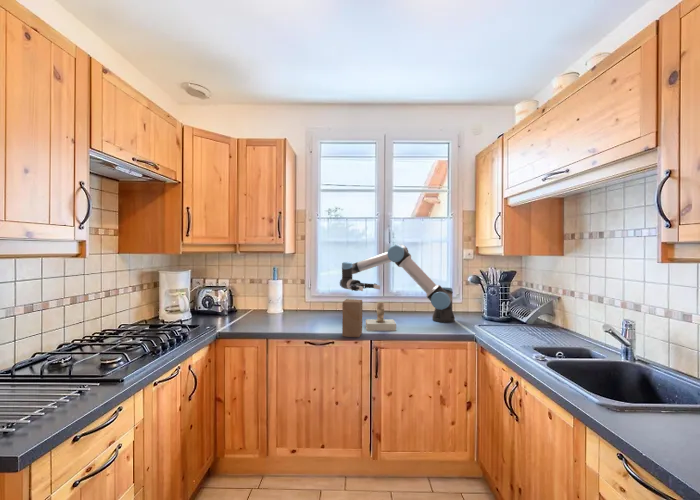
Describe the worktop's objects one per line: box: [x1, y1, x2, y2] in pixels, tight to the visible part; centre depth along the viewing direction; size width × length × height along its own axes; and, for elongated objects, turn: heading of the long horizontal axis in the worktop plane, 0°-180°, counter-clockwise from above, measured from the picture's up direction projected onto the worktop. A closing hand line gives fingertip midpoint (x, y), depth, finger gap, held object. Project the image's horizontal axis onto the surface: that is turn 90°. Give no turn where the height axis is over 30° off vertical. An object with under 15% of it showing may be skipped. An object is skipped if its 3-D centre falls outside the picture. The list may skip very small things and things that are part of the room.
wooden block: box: [341, 298, 363, 338], centre depth 212 cm, size 10×10×20 cm
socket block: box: [365, 318, 397, 332], centre depth 229 cm, size 18×13×4 cm
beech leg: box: [376, 301, 385, 323], centre depth 229 cm, size 4×4×16 cm
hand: (371, 288), depth 237 cm, fingers open, 13 cm apart
